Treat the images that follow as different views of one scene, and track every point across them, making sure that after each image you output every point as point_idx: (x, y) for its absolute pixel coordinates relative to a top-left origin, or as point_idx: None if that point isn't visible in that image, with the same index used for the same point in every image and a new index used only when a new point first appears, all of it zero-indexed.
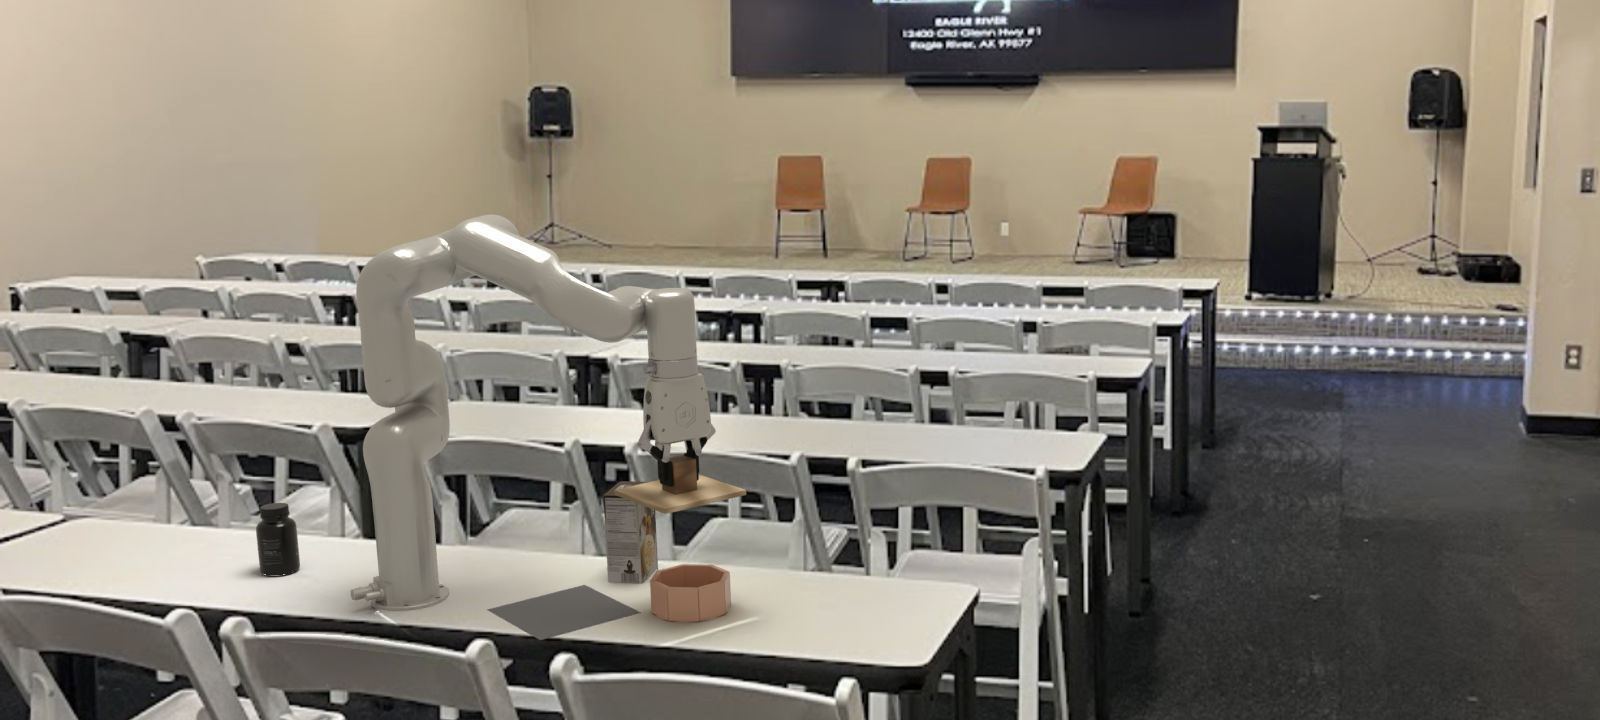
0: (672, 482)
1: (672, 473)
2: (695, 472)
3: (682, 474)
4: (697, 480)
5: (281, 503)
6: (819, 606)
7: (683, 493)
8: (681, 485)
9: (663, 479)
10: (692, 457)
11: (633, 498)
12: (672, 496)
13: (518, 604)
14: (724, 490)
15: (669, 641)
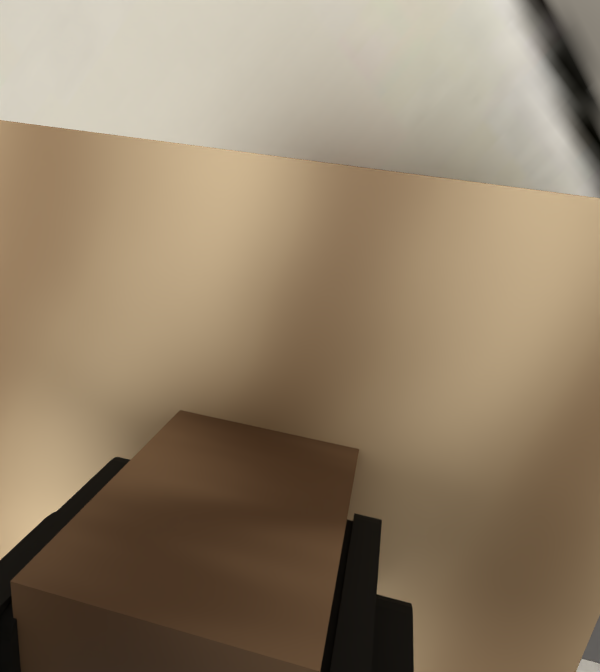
0: (361, 529)
1: (346, 593)
2: (117, 485)
3: (253, 528)
4: (127, 459)
5: None
6: (88, 56)
7: (301, 427)
8: (295, 470)
9: (411, 609)
10: (11, 641)
11: (579, 642)
12: (408, 439)
13: (587, 644)
14: (57, 239)
15: (543, 169)
